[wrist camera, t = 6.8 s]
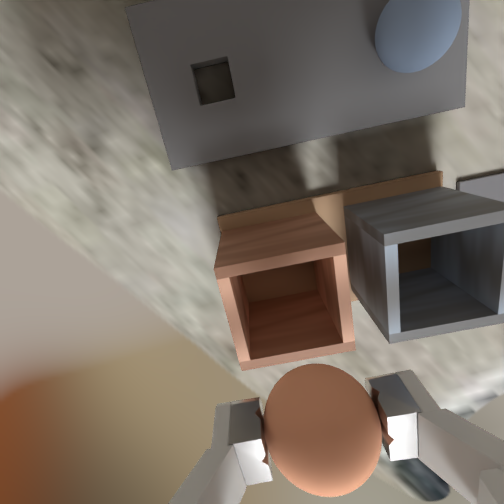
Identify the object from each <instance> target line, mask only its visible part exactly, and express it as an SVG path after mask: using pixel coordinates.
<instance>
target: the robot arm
mask: <svg viewBox="0 0 504 504" xmlns="http://www.w3.org/2000/svg"><path fill="white" fill-rule="evenodd" d="M365 387H366V390H367V392H368V394H369V396H370V398H371V399H372V401H373V403H374V405H375V407H376V410H377V412H378V415H379V419H380V424H381V431H382V444H383V446H384V448H385V450H386V452H387V455H388V457H389V459H390V461H395V460H403V459H410V458H418V457H419V459H420V460H421V461H422V462H423V463H424V464H425V465H427V466H428V467H429V468H430V469H431V470H433V471H434V472H435V473H436V474H437V475H438V476H440V477H441V478H442V479H443V480H444V481H445V482H447V483H448V484H449V485H450V486H451V487H453V488H454V489H455V490H456V491H457V492H458V493H460V494H461V495H462V496H463V497H464V498H466V499H467V500H468V501H469V502H470V503H472V504H504V440H502V439H500V438H498V437H496V436H495V435H493V434H491V433H489V432H487V431H486V430H484V429H482V428H480V427H478V426H476V425H475V424H473V423H471V422H469V421H467V420H466V419H464V418H462V417H460V416H458V415H457V414H455V413H453V412H451V411H449V410H447V409H440V407H439V406H438V405H437V403H436V402H435V400H434V399H433V398H432V396H431V395H430V394H429V392H428V391H427V390H426V388H425V387H424V386H423V384H422V383H421V382H420V380H419V379H418V377H417V376H416V375H415V373H414V372H413V371H411V370H406V371H401V372H395V373H390V374H385V375H379V376H374V377H369V378H365ZM266 481H272V467H271V458H270V454H269V450H268V447H267V444H266V440H265V434H264V414H263V406H262V402H261V398H260V397H258V398H251V399H244V400H238V401H232V402H227V403H220V404H217V406H216V410H215V419H214V428H213V437H212V446H211V449H207V450H206V451H205V453H204V454H203V455H202V457H201V458H200V460H199V461H198V462H197V464H196V465H195V467H194V468H193V470H192V471H191V472H190V474H189V475H188V477H187V478H186V479H185V481H184V482H183V484H182V485H181V486H180V488H179V489H178V491H177V492H176V494H175V495H174V496H173V498H172V499H171V501H170V502H169V503H168V504H239V503H240V501H241V499H242V497H243V494H244V492H245V490H246V485H251V484H256V483H262V482H266Z"/></svg>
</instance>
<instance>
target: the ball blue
mask: <svg viewBox="0 0 504 504" xmlns="http://www.w3.org/2000/svg"><path fill="white" fill-rule="evenodd" d="M461 16H462V9H461V2H460V0H389V2H388V3H387V4H386V6H385V7H384V9H383V11H382V13H381V15H380V17H379V20H378V23H377V26H376V31H375V47H376V51H377V54H378V56H379V58H380V60H381V61H382V63H383V64H384V65H385V66H387V67H388V68H389V69H391V70H393V71H396V72H400V73H412V72H417V71H420V70H423V69H425V68H427V67H429V66H430V65H432V64H433V63H435V62H436V61H437V60H439V59H440V58H441V57H442V56H443V55H444V54H445V52H446V51H447V50H448V49H449V48H450V46H451V45H452V43H453V41H454V39H455V37H456V35H457V33H458V30H459V27H460V23H461Z"/></svg>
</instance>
